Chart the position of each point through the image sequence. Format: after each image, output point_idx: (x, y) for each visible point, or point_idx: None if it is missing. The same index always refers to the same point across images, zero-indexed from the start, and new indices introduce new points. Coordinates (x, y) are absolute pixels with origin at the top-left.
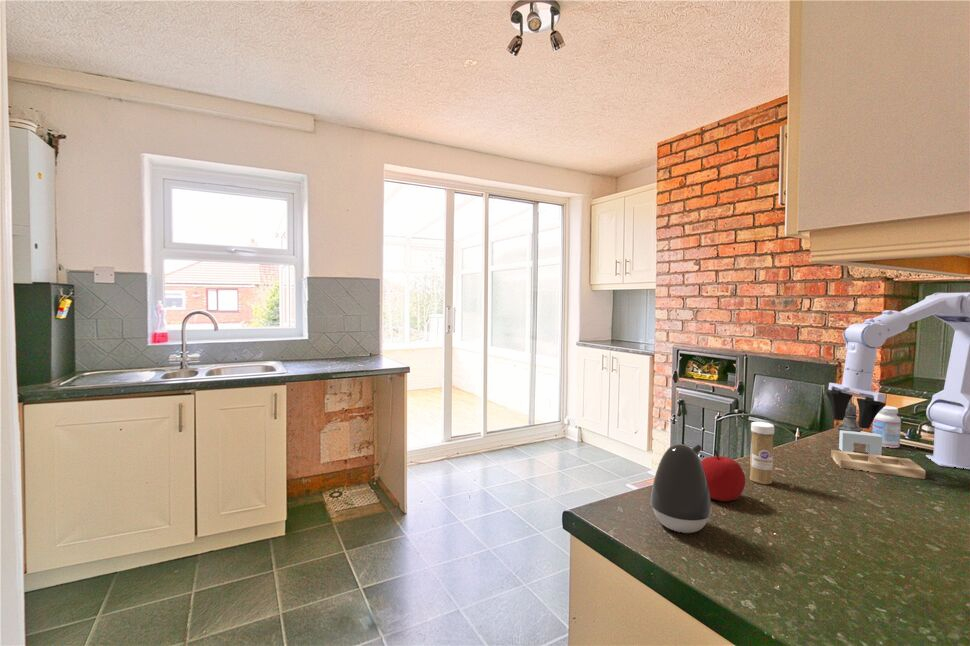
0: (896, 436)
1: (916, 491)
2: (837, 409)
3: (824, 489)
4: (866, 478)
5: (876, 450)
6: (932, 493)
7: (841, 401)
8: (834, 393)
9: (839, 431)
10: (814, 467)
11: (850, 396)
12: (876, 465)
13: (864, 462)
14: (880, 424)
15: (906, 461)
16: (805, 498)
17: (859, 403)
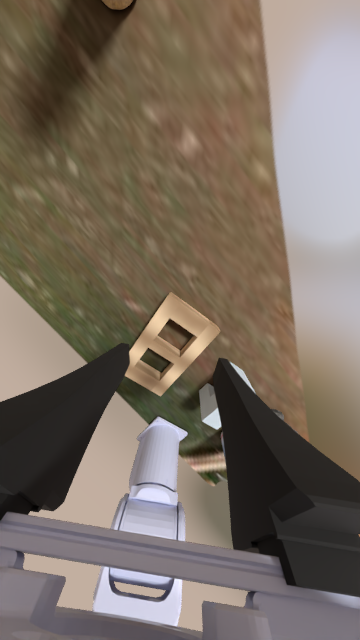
0: (224, 452)
1: (81, 311)
2: (229, 393)
3: (76, 148)
4: (127, 290)
5: (203, 395)
6: (77, 324)
7: (238, 449)
8: (294, 509)
9: (286, 423)
10: (181, 245)
11: (234, 522)
12: (143, 331)
13: (153, 323)
14: None
15: (151, 383)
16: (20, 28)
17: (25, 417)
